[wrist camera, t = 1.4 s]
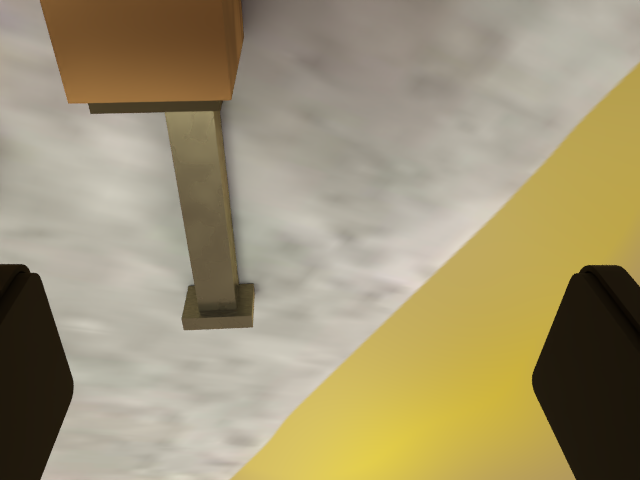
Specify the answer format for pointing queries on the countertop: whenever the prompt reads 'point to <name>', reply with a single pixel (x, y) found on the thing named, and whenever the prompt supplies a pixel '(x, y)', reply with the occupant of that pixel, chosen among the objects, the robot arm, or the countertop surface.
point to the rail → (208, 224)
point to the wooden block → (146, 53)
